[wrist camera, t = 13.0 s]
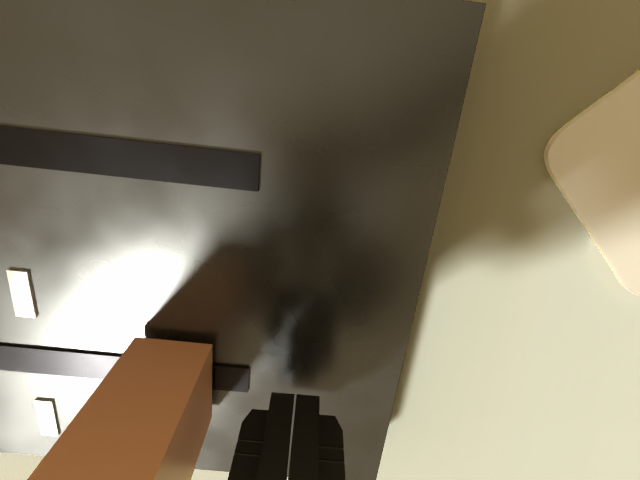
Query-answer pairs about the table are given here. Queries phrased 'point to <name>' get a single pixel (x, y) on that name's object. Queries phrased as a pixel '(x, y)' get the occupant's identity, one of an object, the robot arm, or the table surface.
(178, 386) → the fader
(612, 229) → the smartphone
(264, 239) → the console
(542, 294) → the table surface
